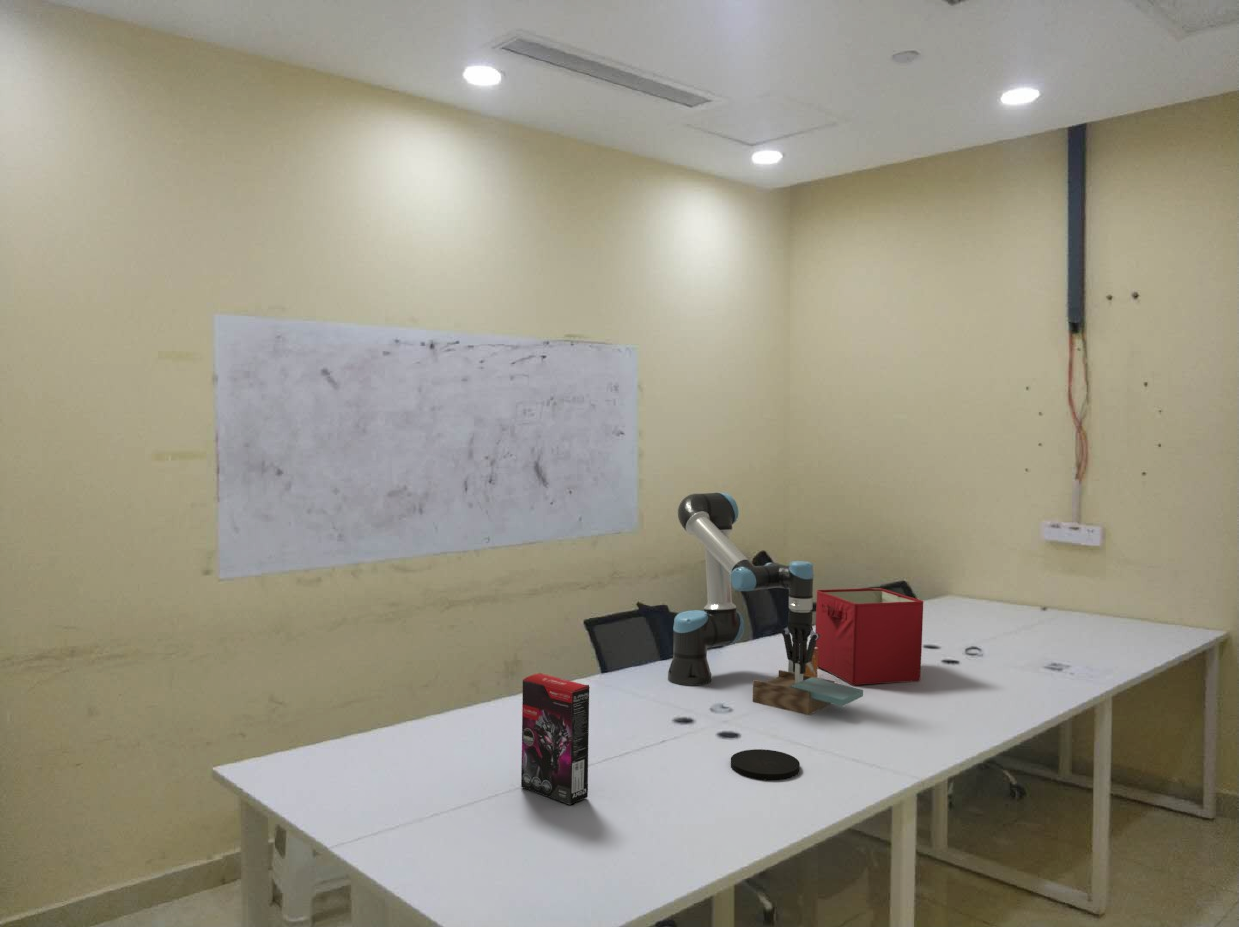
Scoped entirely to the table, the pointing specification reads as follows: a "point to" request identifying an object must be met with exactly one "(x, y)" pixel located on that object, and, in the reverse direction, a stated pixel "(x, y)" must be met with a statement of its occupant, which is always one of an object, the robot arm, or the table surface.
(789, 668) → the small box
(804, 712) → the walnut case
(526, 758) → the graphics card box
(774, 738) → the table surface
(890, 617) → the storage cube
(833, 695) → the cover plate
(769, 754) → the wireless charger
